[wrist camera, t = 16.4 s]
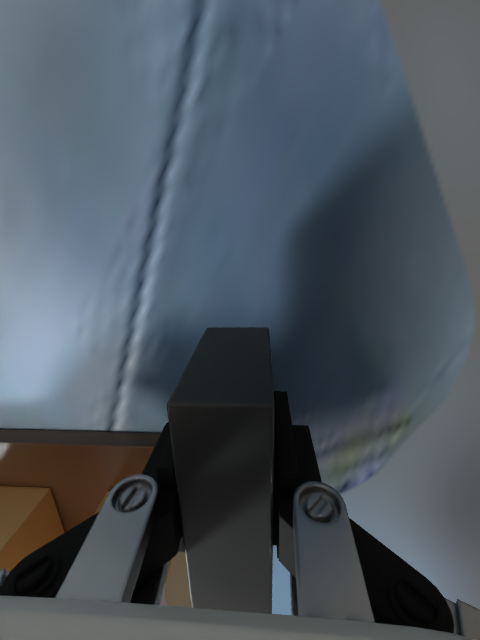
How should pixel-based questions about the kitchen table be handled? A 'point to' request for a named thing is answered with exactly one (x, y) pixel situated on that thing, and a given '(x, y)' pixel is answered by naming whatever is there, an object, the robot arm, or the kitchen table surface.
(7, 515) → the block
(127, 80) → the kitchen table surface
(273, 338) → the kitchen table surface
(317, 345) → the kitchen table surface
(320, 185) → the kitchen table surface
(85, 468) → the cake board
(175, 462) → the dark block with blade
